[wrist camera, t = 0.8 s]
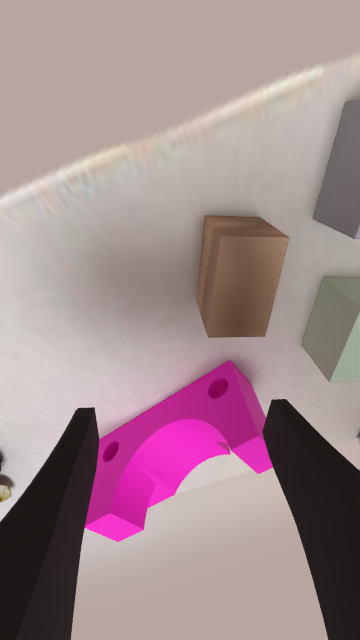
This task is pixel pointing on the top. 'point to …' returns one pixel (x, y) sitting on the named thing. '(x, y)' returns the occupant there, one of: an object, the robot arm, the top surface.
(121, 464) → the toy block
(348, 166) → the slate brick
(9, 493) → the fruit
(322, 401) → the top surface
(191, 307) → the top surface
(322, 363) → the sage brick
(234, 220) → the walnut brick
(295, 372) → the top surface
